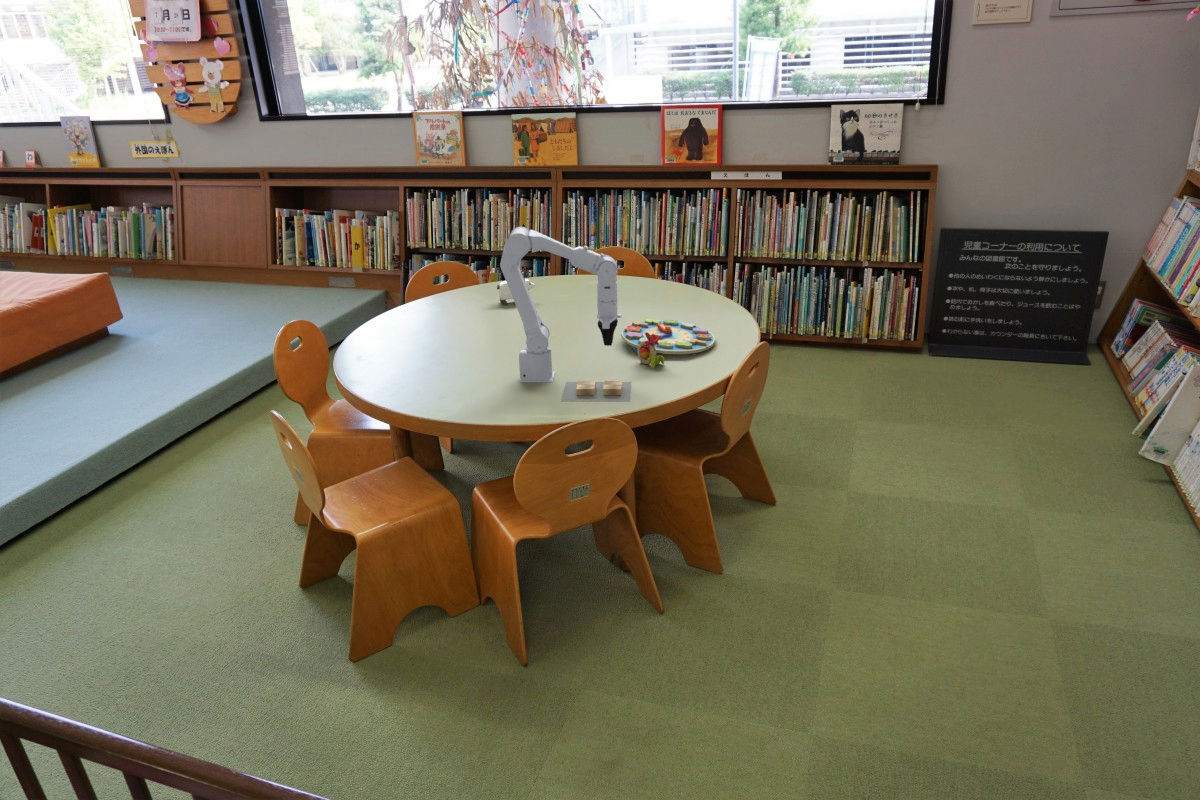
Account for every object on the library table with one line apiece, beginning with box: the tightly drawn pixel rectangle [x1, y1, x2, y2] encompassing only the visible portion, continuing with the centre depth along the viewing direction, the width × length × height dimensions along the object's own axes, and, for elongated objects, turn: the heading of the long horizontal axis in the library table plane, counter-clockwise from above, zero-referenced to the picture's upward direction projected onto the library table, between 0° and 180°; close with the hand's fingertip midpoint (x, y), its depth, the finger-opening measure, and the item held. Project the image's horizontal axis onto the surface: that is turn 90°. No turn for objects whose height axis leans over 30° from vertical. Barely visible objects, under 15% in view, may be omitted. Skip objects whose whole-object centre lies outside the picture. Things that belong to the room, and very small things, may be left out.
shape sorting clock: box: [620, 318, 716, 355], centre depth 264 cm, size 31×30×6 cm
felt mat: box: [560, 381, 632, 403], centre depth 228 cm, size 19×14×1 cm
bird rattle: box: [636, 332, 665, 369], centre depth 244 cm, size 6×11×9 cm
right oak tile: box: [603, 380, 623, 395], centre depth 227 cm, size 5×2×6 cm
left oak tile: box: [576, 380, 597, 395], centre depth 227 cm, size 5×2×6 cm
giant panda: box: [496, 278, 536, 306], centre depth 310 cm, size 15×6×10 cm, turn 103°
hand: (608, 344), depth 235 cm, fingers closed
